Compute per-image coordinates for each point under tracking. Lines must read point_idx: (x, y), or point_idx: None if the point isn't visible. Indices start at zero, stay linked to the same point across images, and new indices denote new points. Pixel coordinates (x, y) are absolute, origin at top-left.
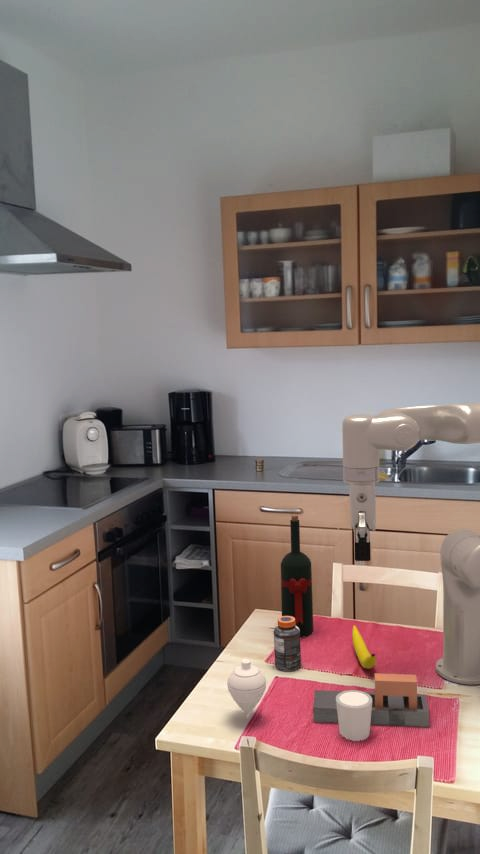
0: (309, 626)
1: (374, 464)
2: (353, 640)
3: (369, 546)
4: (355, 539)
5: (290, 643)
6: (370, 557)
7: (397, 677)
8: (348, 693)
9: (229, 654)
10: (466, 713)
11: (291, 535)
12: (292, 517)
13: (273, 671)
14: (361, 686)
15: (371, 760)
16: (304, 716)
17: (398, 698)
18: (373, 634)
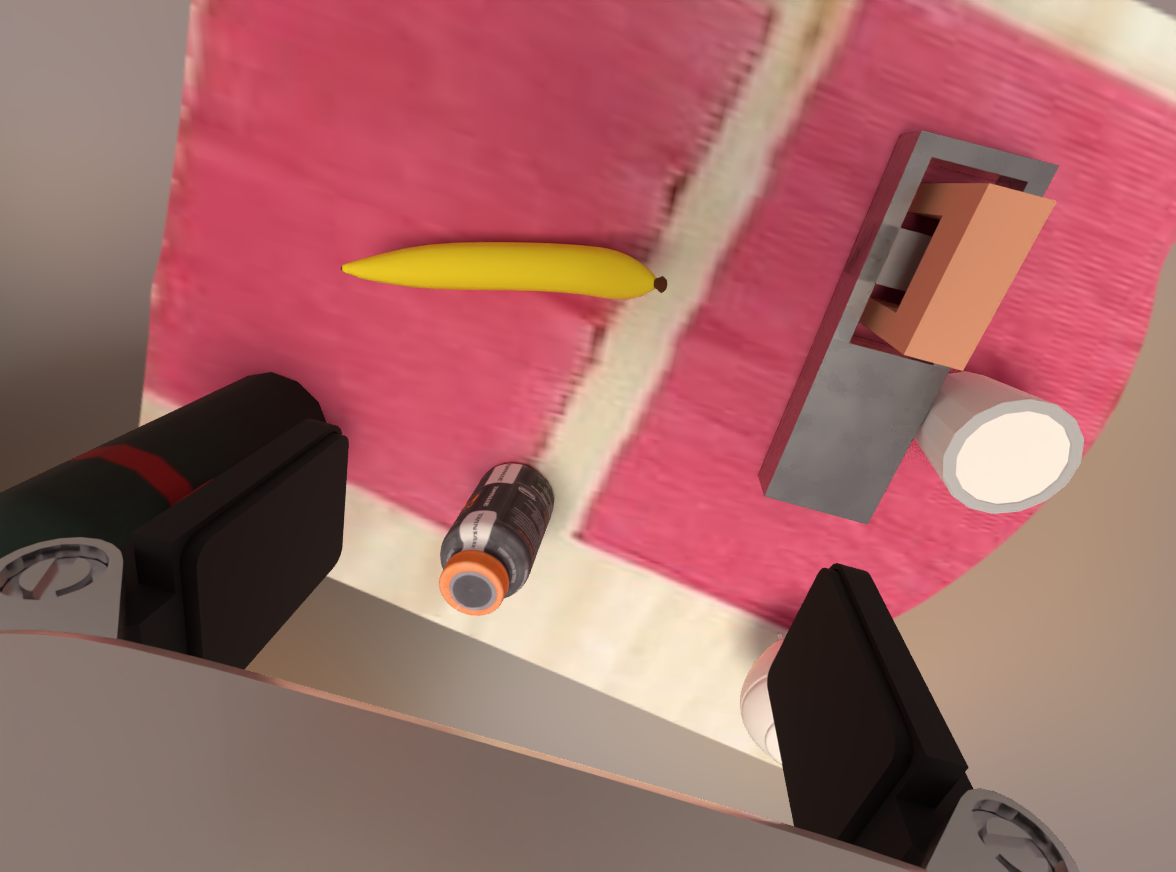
0: (288, 402)
1: None
2: (427, 287)
3: (929, 713)
4: (297, 607)
5: (535, 545)
6: (877, 590)
7: (977, 274)
8: (966, 466)
9: (433, 617)
10: None
11: None
12: None
13: (545, 537)
14: (686, 317)
15: (1114, 406)
16: (816, 515)
17: (911, 250)
18: (288, 159)
